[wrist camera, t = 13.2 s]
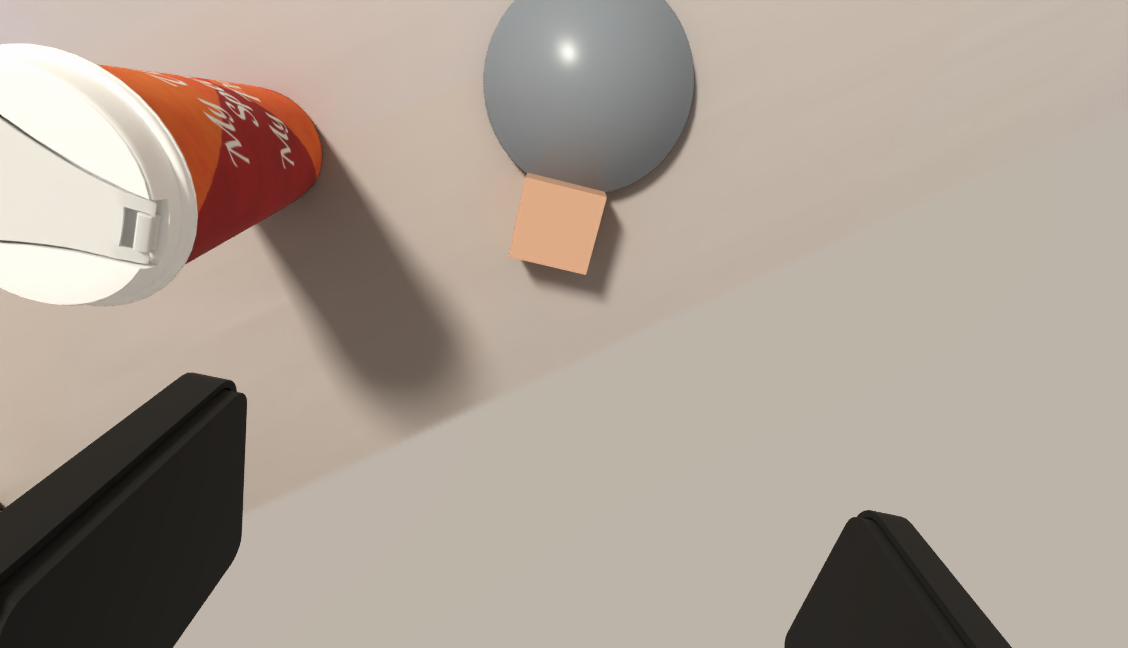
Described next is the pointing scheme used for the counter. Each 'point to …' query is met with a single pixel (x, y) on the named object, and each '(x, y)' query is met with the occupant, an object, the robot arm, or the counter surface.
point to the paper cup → (133, 173)
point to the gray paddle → (583, 111)
